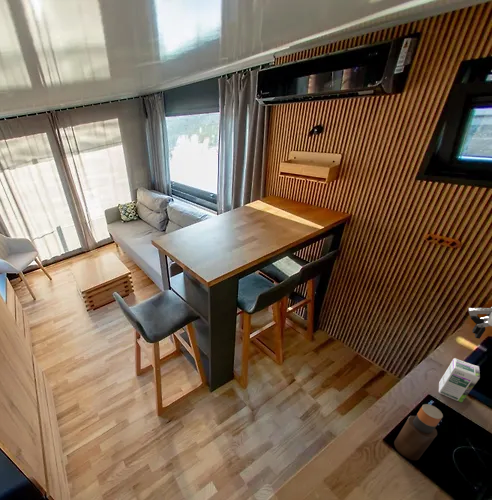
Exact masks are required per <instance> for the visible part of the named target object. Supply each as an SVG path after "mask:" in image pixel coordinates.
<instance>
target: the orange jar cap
mask: <svg viewBox="0 0 492 500" xmlns="http://www.w3.org/2000/svg"><path fill="white" fill-rule="evenodd" d="M416 415H417V416H418V418H419V419H420V420H421V421H422V422H423V423H425V424H427V425H429V426H436V425H437V426H438V424H439V423H440V422H441V420H442V419H443V418H444V414H443V413H442V411H441V410H440V409H439V408H437V407H436V406H435V405H433V404H429V403H424V404H422V406H421V407H420V408H419V410H418V412H417V413H416ZM437 426H436V427H437Z"/></svg>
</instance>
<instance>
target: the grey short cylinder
mask: <svg viewBox="0 0 492 500" xmlns="http://www.w3.org/2000/svg"><path fill="white" fill-rule="evenodd" d="M415 416H416V417H415V419H414V420H413V424H414V426H415V427H416V428H417V429H418V430H420V431H421V432H424V433H427V434H430V433H432V431H433V430H434V429H436V427H437V426H438V424H437V425H436V426H429V425H427V424H425V423H423V422H422V421H421V420H420V419H419V418H418V416H417V414H416V415H415Z"/></svg>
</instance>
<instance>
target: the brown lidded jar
mask: <svg viewBox="0 0 492 500" xmlns="http://www.w3.org/2000/svg"><path fill="white" fill-rule="evenodd" d="M415 417H416V415H410V416H408V418H407V420H406V421H405V423H404V424H403V426H402V428H401V430H400V431H399V433H398V434H397V436H396V438H395V439H394V441H393V445H394V447H395V449H396V451H397V452H398V453H399V454H400V455H401V456H403V457H404V458H406V459H408V460H411V461H418V460H420V459H421V457H422V456H423V455H424V454H425V452H426V450H427V449H428V448H429V447H430V445H431V444H432V443H433V442H434V440H435V438H436V437H437V436H438V430H437V429H436V428H435V429H434V430H433V431H432V433H430V434H427V433H424V432H421V431H420V430H418V429H417V428H416V427H415V426H414V424H413V420H414V419H415Z"/></svg>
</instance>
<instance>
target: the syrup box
mask: <svg viewBox="0 0 492 500" xmlns="http://www.w3.org/2000/svg"><path fill="white" fill-rule="evenodd" d="M480 372H481V371H480V366H479V365H475V364H472V363H470V362H468V361H465V360H461V359H458V358H456V357H453V359H452V360H451V362H450V364H449V365H448V367H447V368H446V371H445V372H444V373H443V375H442V377H441V378H440V380H439V382H438V394H440V395H443V396H444V397H447V398H450V399H452V400H454V401H457V402H459V403H463V402H464V400H465V399H466V398H467V396H468V395H469V394H470V392H471V391H472V389H473V388H474V387H475V385H476V384H477V383H478V381H479V380H480V378H481V374H480Z"/></svg>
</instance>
